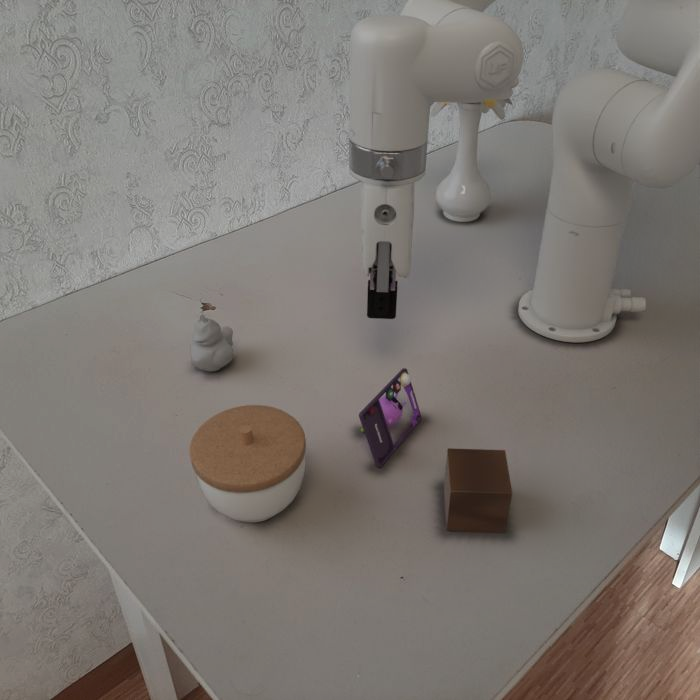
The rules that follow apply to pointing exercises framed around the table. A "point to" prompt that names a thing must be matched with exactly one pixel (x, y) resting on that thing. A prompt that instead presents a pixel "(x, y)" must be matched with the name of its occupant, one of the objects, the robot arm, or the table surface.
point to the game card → (388, 417)
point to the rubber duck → (211, 345)
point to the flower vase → (468, 162)
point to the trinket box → (249, 461)
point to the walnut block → (477, 490)
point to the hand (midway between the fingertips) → (381, 314)
